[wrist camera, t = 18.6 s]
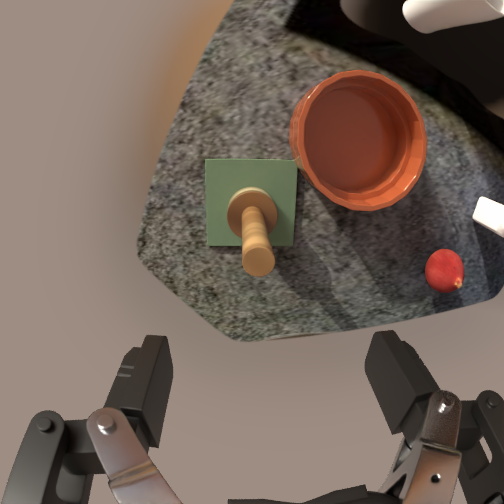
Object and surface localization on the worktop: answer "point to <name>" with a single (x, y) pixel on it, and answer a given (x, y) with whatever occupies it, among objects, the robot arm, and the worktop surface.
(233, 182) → the mat
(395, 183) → the bowl
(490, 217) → the pepper shaker
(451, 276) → the onion
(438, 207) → the worktop surface
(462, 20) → the drinking glass
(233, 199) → the dish brush
